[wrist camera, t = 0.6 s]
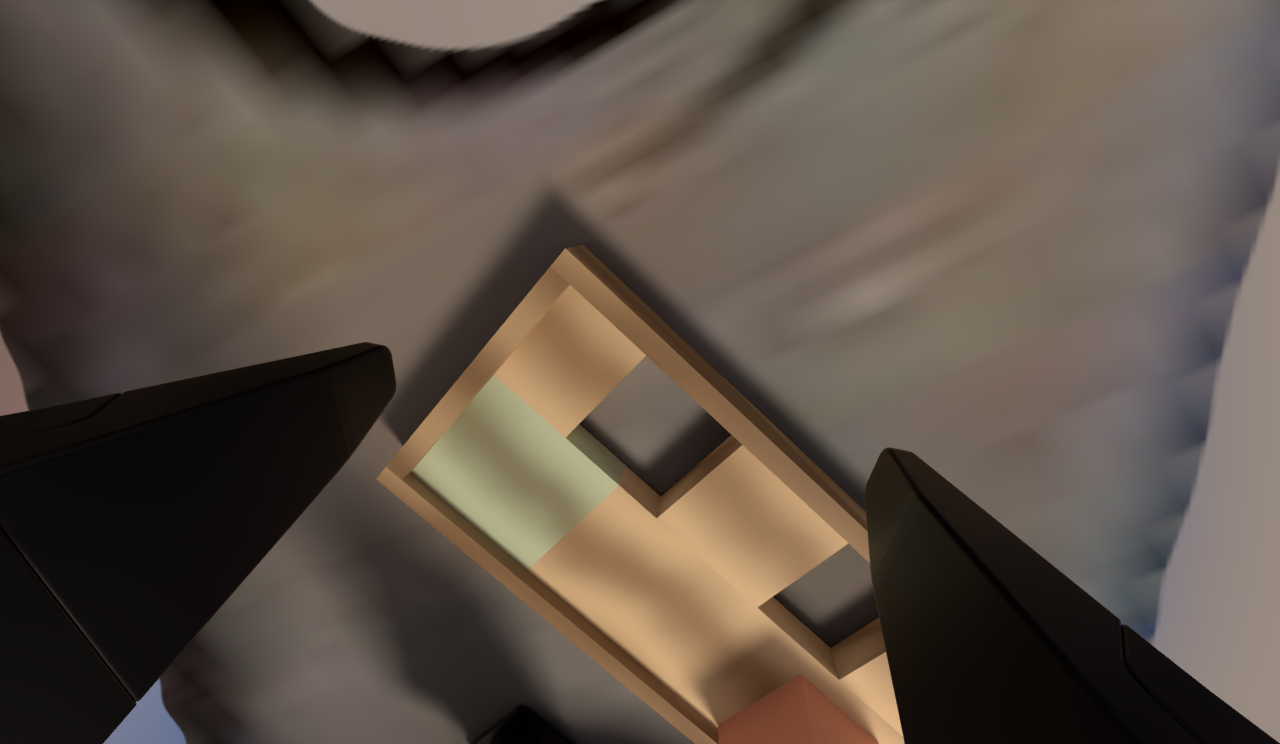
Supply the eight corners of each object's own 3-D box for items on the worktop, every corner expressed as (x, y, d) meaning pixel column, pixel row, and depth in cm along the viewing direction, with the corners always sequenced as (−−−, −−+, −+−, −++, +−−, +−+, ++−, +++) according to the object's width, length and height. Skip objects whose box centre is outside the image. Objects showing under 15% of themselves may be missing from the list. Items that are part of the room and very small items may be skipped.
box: (783, 770, 31) (790, 822, 28) (408, 453, 27) (375, 479, 25) (1008, 646, 26) (1042, 695, 23) (582, 244, 23) (565, 248, 20)
